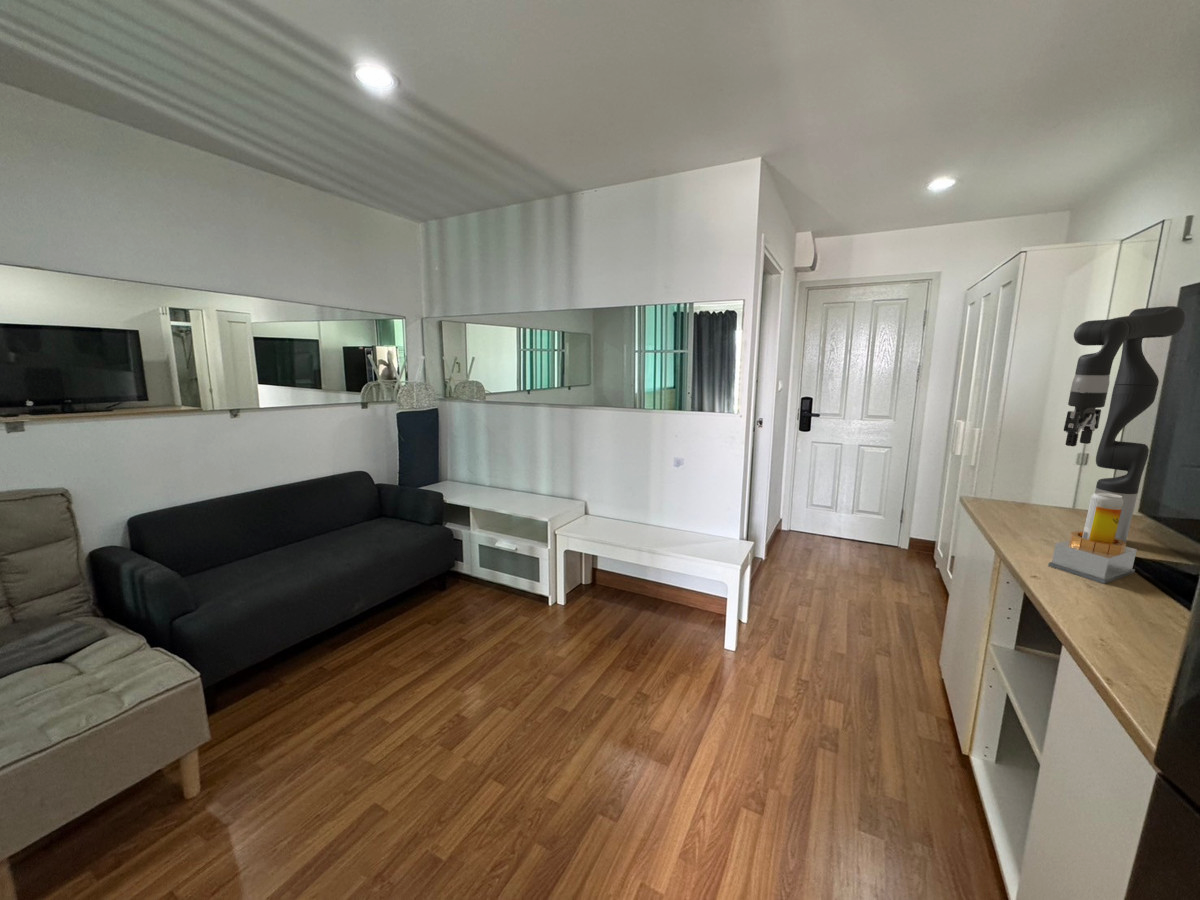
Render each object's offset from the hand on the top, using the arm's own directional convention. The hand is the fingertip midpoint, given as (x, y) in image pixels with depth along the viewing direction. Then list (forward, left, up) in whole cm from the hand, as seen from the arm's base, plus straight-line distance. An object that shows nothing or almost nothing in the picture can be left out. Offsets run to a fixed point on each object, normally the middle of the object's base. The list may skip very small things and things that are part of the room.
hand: (1077, 444), depth 138 cm
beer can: (+8, +11, -27) cm, 30 cm away
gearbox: (+6, +11, -34) cm, 36 cm away
